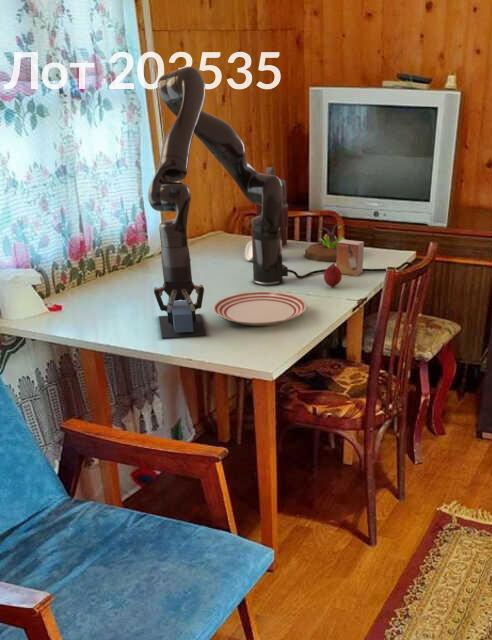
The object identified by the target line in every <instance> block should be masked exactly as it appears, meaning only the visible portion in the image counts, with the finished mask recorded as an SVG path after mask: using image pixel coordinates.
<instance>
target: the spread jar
mask: <svg viewBox="0 0 492 640" xmlns="http://www.w3.org/2000/svg"><path fill="white" fill-rule="evenodd" d="M280 246H281V254H282V255H283V247H282V239H281V236H280ZM244 248H245V249H244V257H245V260H246V261H248V262H249V261H250V262H253V252H252V240H250V241H248V242H247V243H246V245H245V247H244Z"/></svg>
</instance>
